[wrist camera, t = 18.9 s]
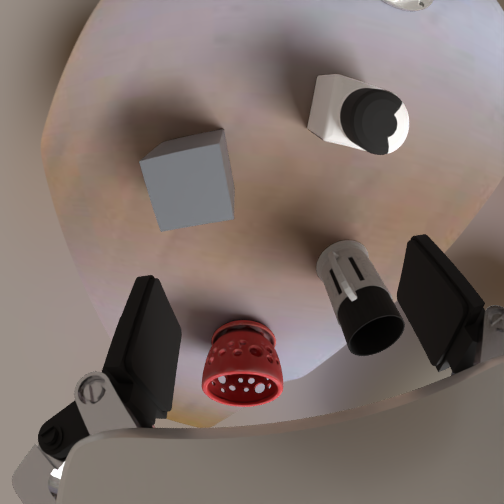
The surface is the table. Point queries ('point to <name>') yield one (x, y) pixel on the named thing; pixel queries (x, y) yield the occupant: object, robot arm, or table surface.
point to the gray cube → (190, 181)
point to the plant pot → (242, 364)
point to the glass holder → (359, 298)
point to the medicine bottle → (357, 115)
